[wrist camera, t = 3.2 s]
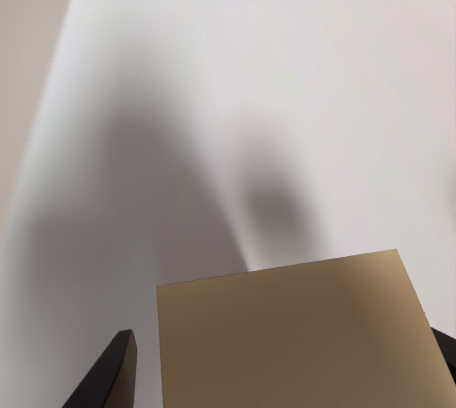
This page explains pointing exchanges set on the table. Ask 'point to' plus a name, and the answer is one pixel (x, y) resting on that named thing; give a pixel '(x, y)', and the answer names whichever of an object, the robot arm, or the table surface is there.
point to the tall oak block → (302, 339)
